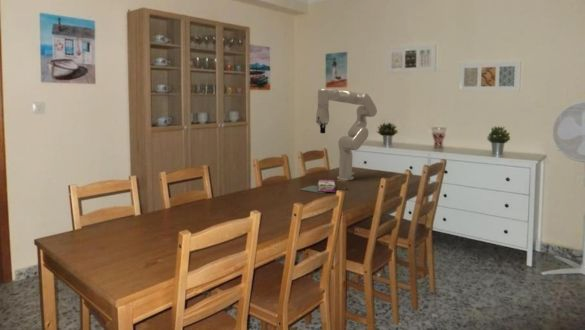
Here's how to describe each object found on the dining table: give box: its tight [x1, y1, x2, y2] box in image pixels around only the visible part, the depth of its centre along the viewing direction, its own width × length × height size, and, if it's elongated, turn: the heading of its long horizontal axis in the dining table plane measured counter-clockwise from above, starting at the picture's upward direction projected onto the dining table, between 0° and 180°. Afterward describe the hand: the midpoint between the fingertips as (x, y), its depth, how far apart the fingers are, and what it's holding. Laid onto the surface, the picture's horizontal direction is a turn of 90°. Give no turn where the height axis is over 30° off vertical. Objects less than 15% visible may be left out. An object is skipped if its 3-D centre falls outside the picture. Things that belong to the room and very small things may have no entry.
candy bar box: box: [317, 179, 336, 193], centre depth 288 cm, size 11×5×16 cm
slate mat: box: [299, 185, 327, 195], centre depth 290 cm, size 15×18×1 cm
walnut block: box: [335, 179, 348, 191], centre depth 293 cm, size 6×6×6 cm
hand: (322, 133), depth 310 cm, fingers closed
